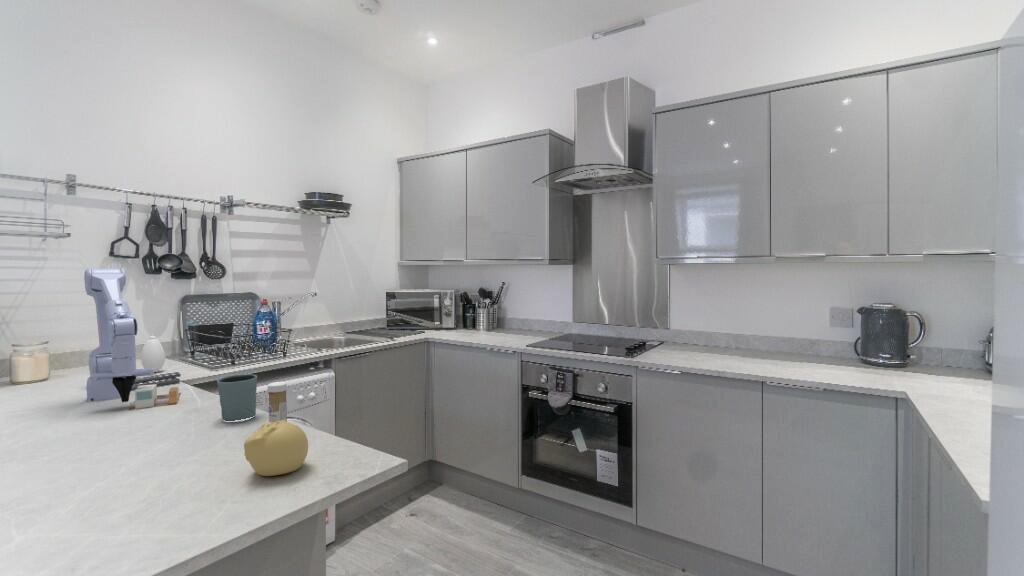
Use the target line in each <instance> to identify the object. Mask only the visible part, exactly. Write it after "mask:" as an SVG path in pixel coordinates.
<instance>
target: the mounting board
mask: <svg viewBox="0 0 1024 576" xmlns="http://www.w3.org/2000/svg"><path fill="white" fill-rule="evenodd" d="M181 394H182V392H179V398H181ZM166 398H169V393H167V394H166V393H165V394H159V395H158V394H157V399H166ZM133 402H135V400H134V401H133ZM174 405H177V404H169V403H168V404H160V405H154V407H147V408H146V409H150V408H151V409H152V408H158V407H159V408H160V407H165V406H166V407H167V406H174ZM142 409H145V408H138V409H137V410H142ZM133 410H136V409H135V408H128V411H133Z"/></svg>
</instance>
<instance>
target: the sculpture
mask: <svg viewBox="0 0 1024 576" xmlns="http://www.w3.org/2000/svg"><path fill="white" fill-rule="evenodd" d="M243 449H244V456H245V460H246V461H247V462H248V463H249V465H250V466H251V468H252V470H253V471H254V472H255V473H256V474H258V475H259V476H261V475H262V477H273V476H279V475H285V474H289V473H293V472H295V471H297V470H298V469H301V467H302V466H303V465H304V462H305V461H306V458H307V456H308V452H309V441H308V437H307V435H306V432H305V431H304V430H303V429H302V428H301V427H299V426H298V425H296V424H294V423H291V422H286V420H282V421H278V422H272V423H271V422H269V421H268V422H264V423H262V424H261V426H260V427H259V428H258V429H257V430H256V431H254V432H253V434H252V435H250V436H249V437H248V438H247V439H246V440H245V441H244V443H243Z"/></svg>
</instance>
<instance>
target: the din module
mask: <svg viewBox="0 0 1024 576" xmlns="http://www.w3.org/2000/svg"><path fill="white" fill-rule="evenodd" d="M157 385H158V384H156V383H155V384H147V385H146V384H145V385H138V386H137V388H136V389H135V390H134V401H135V410H139V409H138V408H144V409H148V408H147V407H152V408H155V407H154V405H155V404H154V401H155V400H157V395H158V388H157V387H158V386H157Z"/></svg>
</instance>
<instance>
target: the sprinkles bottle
mask: <svg viewBox="0 0 1024 576" xmlns="http://www.w3.org/2000/svg"><path fill="white" fill-rule="evenodd" d="M287 388H288V385H287V382H286V381H275V382H271V383H267V392H268V423H269V422H271V423H272V422H278V421H282V420H286V422H287V421H288V413H287V412H288V408H287V407H288V406H287V405H288V403H287V401H288V400H287ZM287 423H288V422H287Z"/></svg>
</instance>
